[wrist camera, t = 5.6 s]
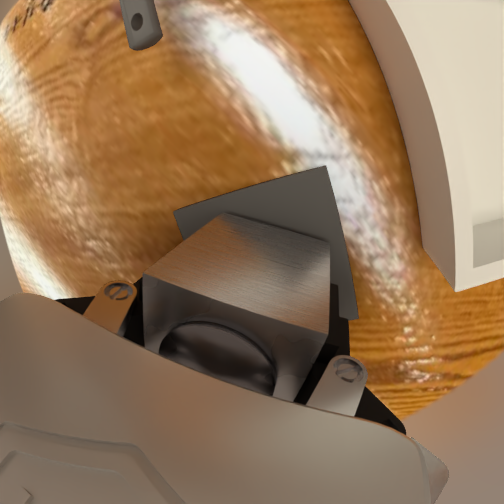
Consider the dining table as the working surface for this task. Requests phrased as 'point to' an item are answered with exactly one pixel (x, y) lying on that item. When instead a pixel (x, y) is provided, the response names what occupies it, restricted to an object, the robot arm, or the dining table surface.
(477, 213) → the bin
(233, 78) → the dining table surface
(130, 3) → the saucepan
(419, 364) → the dining table surface
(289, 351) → the metal block
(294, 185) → the ball stud
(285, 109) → the dining table surface
